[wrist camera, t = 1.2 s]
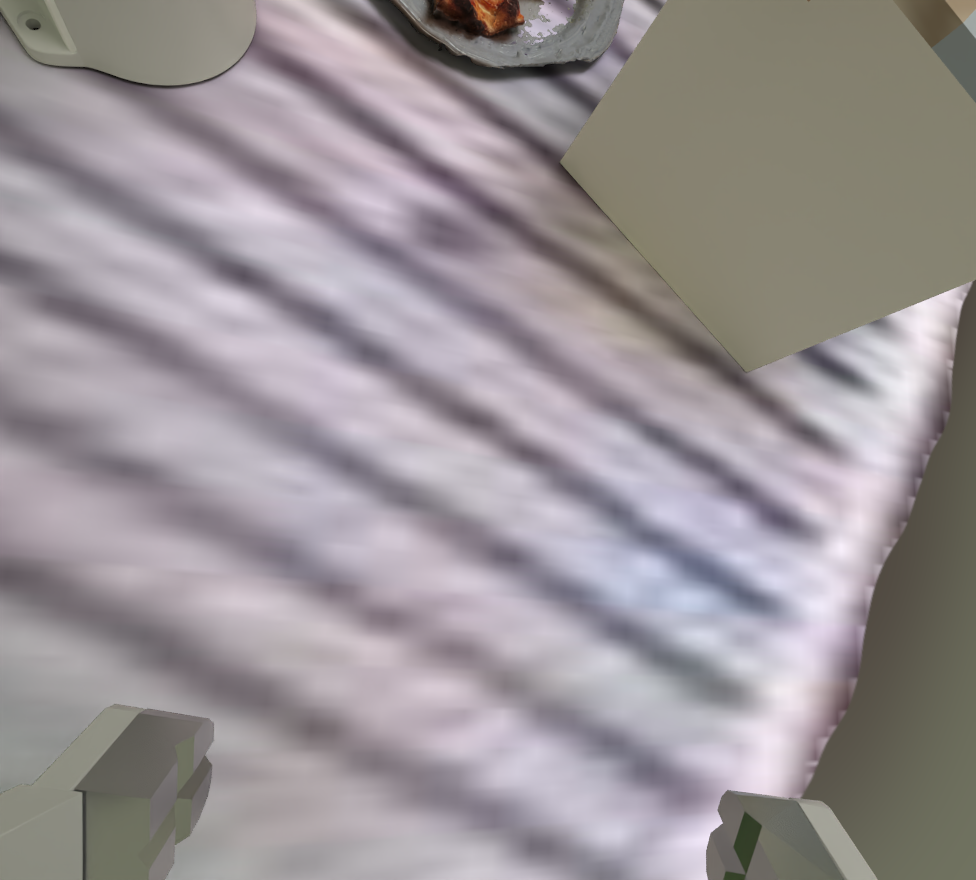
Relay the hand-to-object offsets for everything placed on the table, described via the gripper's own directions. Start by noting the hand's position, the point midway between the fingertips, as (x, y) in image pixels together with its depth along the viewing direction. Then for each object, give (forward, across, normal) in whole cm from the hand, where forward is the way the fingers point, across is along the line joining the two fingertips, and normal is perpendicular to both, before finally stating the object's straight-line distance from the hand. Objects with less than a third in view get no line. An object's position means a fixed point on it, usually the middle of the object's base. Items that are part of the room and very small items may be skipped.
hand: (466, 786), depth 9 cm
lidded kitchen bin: (+51, -18, -18) cm, 57 cm away
